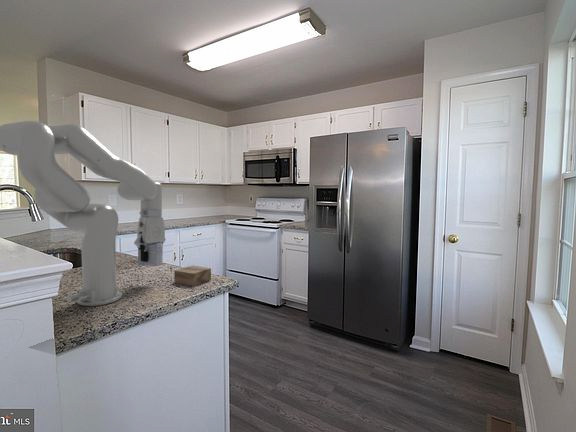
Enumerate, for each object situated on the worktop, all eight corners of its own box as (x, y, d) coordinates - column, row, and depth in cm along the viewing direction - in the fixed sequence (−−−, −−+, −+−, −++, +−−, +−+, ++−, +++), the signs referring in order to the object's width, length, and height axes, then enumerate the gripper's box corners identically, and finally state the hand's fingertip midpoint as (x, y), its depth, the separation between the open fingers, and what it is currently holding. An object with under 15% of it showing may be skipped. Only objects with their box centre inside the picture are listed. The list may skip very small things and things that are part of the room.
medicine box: (162, 264, 123) (163, 242, 123) (156, 266, 118) (157, 244, 118) (144, 263, 124) (144, 241, 123) (137, 265, 119) (137, 243, 119)
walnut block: (193, 286, 119) (193, 273, 119) (174, 282, 123) (174, 270, 123) (210, 280, 128) (210, 268, 128) (192, 277, 132) (192, 265, 132)
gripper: (141, 214, 111) (140, 264, 112) (174, 213, 127) (173, 257, 128) (125, 213, 114) (124, 262, 114) (159, 213, 130) (158, 256, 130)
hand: (150, 259), depth 121 cm, fingers closed on medicine box, 5 cm apart
